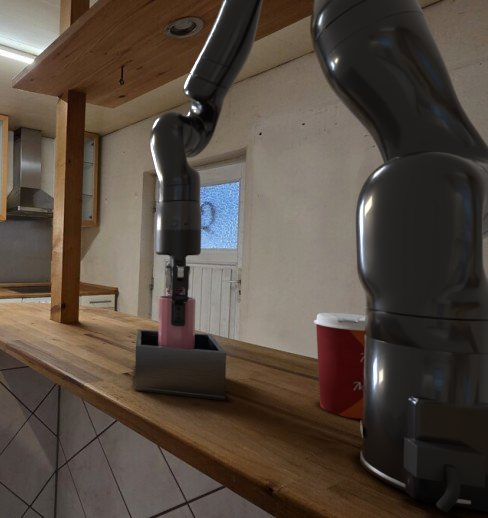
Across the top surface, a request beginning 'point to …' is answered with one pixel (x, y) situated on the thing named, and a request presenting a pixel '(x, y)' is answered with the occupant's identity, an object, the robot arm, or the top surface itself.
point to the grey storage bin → (180, 367)
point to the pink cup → (176, 334)
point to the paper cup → (341, 362)
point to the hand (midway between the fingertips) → (176, 321)
